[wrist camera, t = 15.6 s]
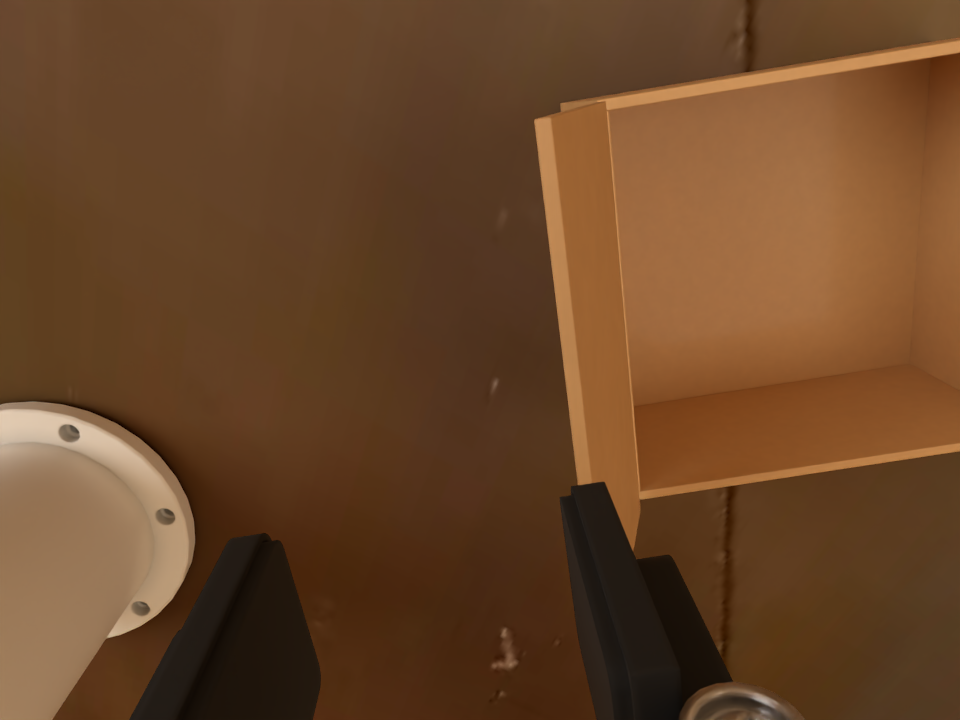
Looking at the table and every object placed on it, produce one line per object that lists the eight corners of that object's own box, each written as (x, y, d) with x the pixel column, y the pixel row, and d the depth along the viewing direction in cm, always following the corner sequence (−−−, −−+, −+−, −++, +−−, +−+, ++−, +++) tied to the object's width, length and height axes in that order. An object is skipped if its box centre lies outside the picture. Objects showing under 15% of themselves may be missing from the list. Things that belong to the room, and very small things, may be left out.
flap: (640, 510, 24) (630, 509, 24) (606, 100, 19) (593, 102, 19) (612, 668, 18) (599, 667, 18) (551, 116, 13) (533, 119, 13)
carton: (593, 415, 31) (631, 501, 25) (559, 102, 27) (596, 99, 20) (911, 366, 31) (1041, 439, 24) (934, 41, 26) (1103, 16, 19)
